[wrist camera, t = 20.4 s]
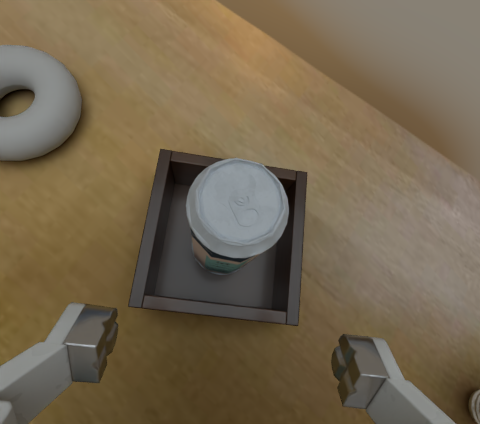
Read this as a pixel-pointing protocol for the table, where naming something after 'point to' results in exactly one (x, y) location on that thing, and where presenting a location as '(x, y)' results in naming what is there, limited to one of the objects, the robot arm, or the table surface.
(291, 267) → the holder
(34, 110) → the donut
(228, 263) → the beer can
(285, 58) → the table surface
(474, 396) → the light bulb
